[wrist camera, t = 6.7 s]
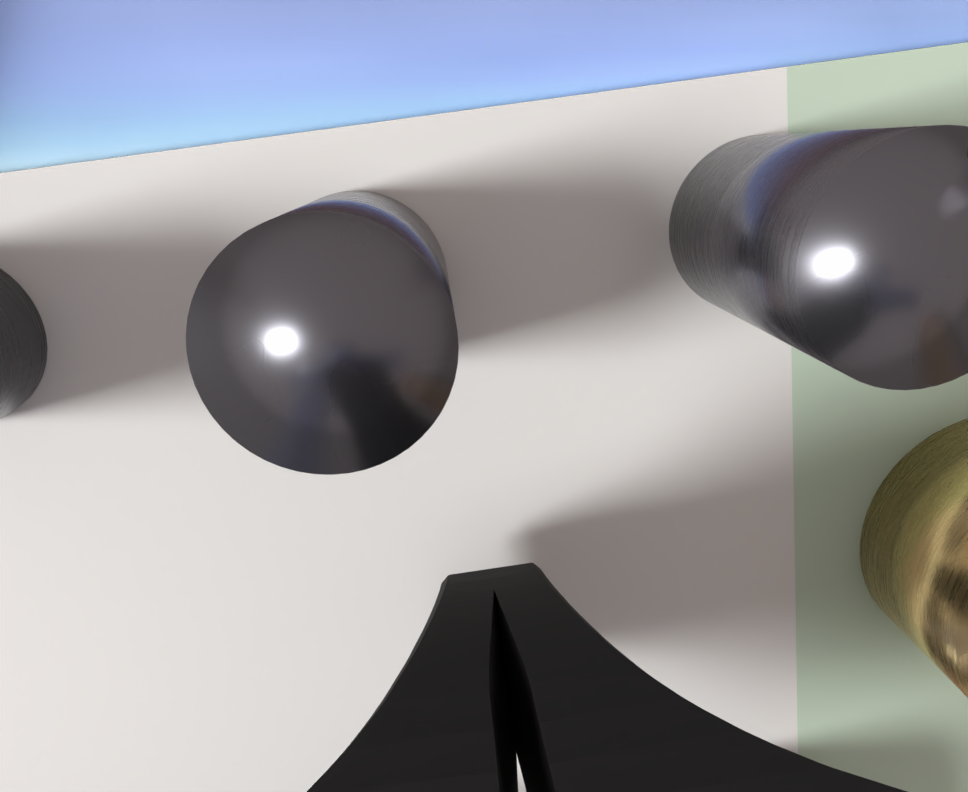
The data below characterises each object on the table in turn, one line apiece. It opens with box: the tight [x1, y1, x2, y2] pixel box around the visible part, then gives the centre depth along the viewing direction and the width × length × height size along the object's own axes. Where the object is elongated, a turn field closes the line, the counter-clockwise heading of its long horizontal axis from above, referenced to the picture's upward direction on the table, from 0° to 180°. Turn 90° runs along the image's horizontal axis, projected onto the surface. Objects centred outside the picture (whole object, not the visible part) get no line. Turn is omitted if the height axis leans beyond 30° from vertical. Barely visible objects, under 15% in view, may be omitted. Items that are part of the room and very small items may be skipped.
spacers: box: [0, 125, 968, 475], centre depth 11 cm, size 12×14×4 cm
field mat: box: [0, 42, 968, 792], centre depth 13 cm, size 14×20×1 cm
